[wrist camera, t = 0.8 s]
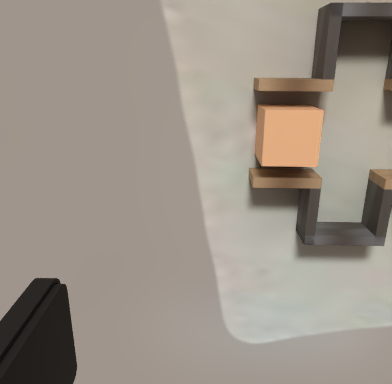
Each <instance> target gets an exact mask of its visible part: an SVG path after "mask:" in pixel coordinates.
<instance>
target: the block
mask: <svg viewBox="0 0 392 384" xmlns="http://www.w3.org/2000/svg"><path fill="white" fill-rule="evenodd" d="M323 115H324V110H322V109H319V108H316V107H313V106H311V105H270V104H258V111H257V127H256V144H255V155H256V157H257V159H258V160H259V162H260V164H261V166H288V167H317V166H318V157H319V149H320V140H321V132H322V123H323Z"/></svg>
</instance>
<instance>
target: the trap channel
mask: <svg viewBox="0 0 392 384" xmlns="http://www.w3.org/2000/svg"><path fill="white" fill-rule="evenodd" d="M341 21H392V3H330V4H328V5H326V6H324V7H322V8H320V9H319V12H318V22H317V32H316V41H315V51H314V61H313V70H312V78H254V89H255V90H258V91H333V85H334V77H335V69H336V61H337V52H338V44H339V36H340V28H341ZM384 90H391V91H392V42H391V48H390V54H389V60H388V66H387V72H386V78H385V84H384ZM249 179H250V182H251V184H252V187H253V188H300V196H299V206H298V215H297V225H296V231H297V233H298V235H299V236H300V238H301V240H302V242H303V244H304V245H358V246H384V243H385V238H386V232H387V227H388V222H389V217H390V212H391V206H392V170H370V174H369V180H368V186H367V192H366V198H365V204H364V210H363V216H362V222H361V223H353V222H317V216H318V207H319V199H320V191H321V183H322V178H321V177H320V176H319V175H318V174H317V173H316V172H315V171H314V170H313V169H286V168H249Z"/></svg>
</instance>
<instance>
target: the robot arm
mask: <svg viewBox="0 0 392 384" xmlns="http://www.w3.org/2000/svg"><path fill="white" fill-rule="evenodd" d="M76 371H77V363H76V355H75V347H74V338H73V331H72V323H71V315H70V308H69V300H68V292H67V287H66V285H65V284H61V283H60V281H59V279H57V278H36V279H34V280H33V281H32V282H31V283H30V285H29V286H28V287H27V288H26V290H25V291H24V292H23V293H22V295H21V296H20V297H19V298H18V300H17V301H16V302H15V303H14V305H13V306H12V307H11V309H10V310H9V311H8V312H7V313H6V315H5V316H4V317H3V318H2V320H1V321H0V384H73V382H74V379H75V376H76Z"/></svg>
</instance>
